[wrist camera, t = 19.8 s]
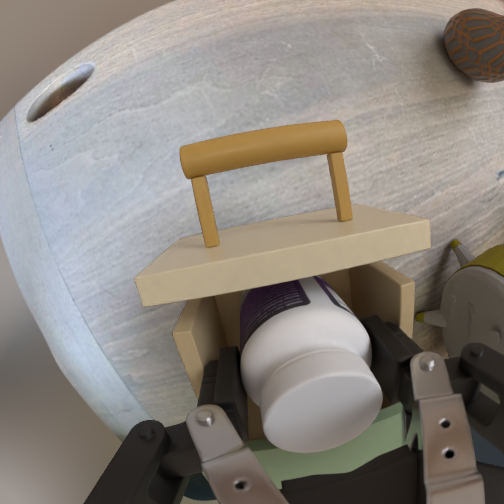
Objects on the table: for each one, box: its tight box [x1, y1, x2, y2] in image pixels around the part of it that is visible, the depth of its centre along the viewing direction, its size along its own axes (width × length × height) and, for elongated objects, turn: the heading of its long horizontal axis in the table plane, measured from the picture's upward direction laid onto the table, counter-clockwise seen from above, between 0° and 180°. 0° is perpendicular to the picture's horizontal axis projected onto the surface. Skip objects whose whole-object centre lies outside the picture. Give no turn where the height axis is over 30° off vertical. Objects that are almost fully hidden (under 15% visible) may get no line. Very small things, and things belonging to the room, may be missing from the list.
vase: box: [444, 8, 504, 83], centre depth 10 cm, size 7×7×9 cm
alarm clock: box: [416, 239, 504, 404], centre depth 12 cm, size 12×7×15 cm, turn 22°
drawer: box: [134, 120, 431, 441], centre depth 14 cm, size 18×11×8 cm, turn 11°
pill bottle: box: [240, 275, 383, 453], centre depth 12 cm, size 5×5×10 cm
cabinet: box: [202, 402, 403, 490], centre depth 17 cm, size 15×13×10 cm
